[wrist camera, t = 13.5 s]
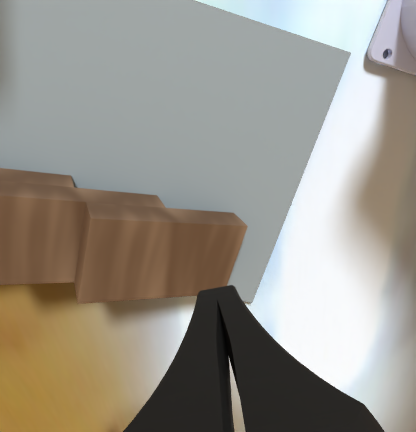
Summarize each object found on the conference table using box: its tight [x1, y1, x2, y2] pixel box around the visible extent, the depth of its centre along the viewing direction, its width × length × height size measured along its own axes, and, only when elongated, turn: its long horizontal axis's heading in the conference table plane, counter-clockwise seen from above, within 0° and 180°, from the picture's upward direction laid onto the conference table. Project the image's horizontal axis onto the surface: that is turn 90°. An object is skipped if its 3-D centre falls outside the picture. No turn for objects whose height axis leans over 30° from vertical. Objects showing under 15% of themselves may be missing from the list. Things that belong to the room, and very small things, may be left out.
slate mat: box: [0, 0, 351, 303], centre depth 19 cm, size 27×17×1 cm, turn 75°
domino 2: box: [74, 202, 248, 304], centre depth 20 cm, size 2×5×9 cm
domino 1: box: [0, 181, 166, 285], centre depth 19 cm, size 2×5×9 cm
